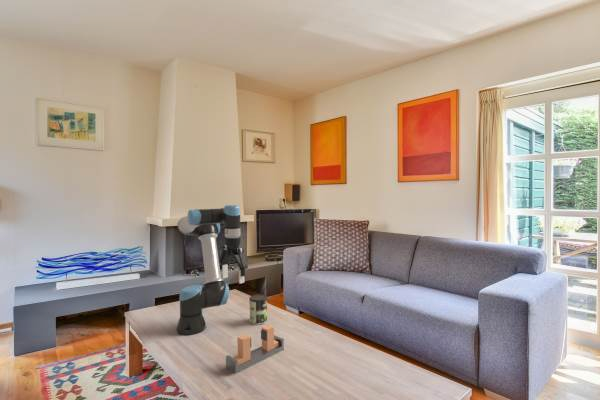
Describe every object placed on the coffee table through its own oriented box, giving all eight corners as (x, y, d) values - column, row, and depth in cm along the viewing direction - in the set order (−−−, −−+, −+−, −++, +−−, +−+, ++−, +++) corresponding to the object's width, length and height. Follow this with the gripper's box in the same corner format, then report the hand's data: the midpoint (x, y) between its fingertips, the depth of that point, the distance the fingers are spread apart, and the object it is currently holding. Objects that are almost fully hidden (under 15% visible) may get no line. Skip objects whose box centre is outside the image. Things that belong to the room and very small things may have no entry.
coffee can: (269, 318, 198) (269, 295, 197) (264, 325, 188) (264, 300, 187) (253, 317, 200) (252, 294, 199) (247, 324, 190) (246, 299, 189)
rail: (226, 367, 144) (225, 356, 143) (273, 344, 164) (273, 334, 164) (235, 373, 139) (235, 361, 139) (283, 349, 159) (283, 339, 159)
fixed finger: (260, 349, 156) (260, 328, 156) (272, 343, 162) (272, 323, 161) (266, 351, 153) (265, 330, 153) (278, 345, 159) (278, 325, 158)
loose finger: (232, 362, 144) (231, 339, 144) (246, 355, 150) (246, 333, 149) (237, 365, 141) (237, 342, 141) (252, 358, 147) (251, 336, 147)
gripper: (211, 235, 167) (212, 277, 168) (242, 240, 150) (242, 287, 151) (224, 233, 172) (224, 274, 173) (255, 238, 155) (255, 283, 156)
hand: (233, 280), depth 162 cm, fingers open, 13 cm apart
